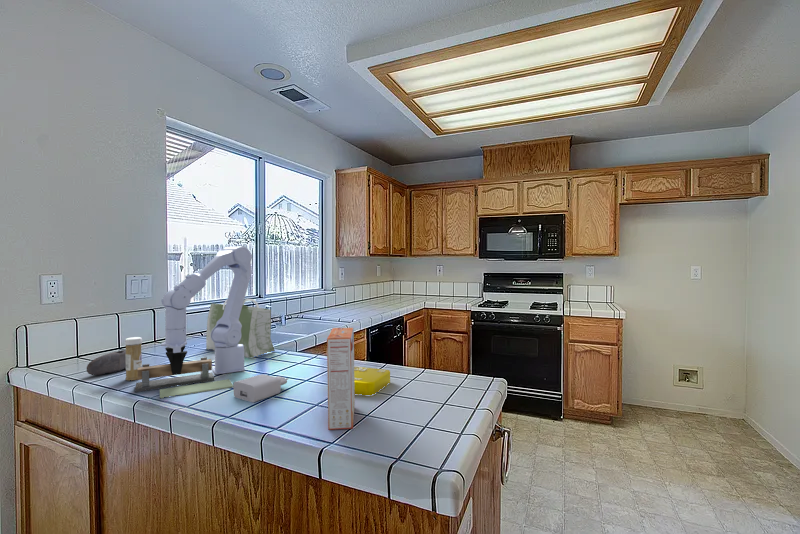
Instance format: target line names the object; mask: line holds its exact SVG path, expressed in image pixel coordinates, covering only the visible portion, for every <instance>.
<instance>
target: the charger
mask: <svg viewBox="0 0 800 534" xmlns="http://www.w3.org/2000/svg"><path fill="white" fill-rule="evenodd" d="M288 380H289V378H288V377H287V378H286V377H285V376H284V377H283V376H279V375H278V376H272V375H268V374H265V373H262V374H261V373H260V374H258V375H253V376H251V377H247V378H244V379H240V380H236V381H234V382H233V397H234V398H236V399H240V400H243V401H247V402H250V403H257V402H260V401H262V400H264V399H267V398H270V397H273V396H275V395H279V394H280V393H281V388H282V387H281V386H283V385H286V384H287V383H288Z"/></svg>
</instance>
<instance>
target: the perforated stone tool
mask: <svg viewBox="0 0 800 534" xmlns="http://www.w3.org/2000/svg"><path fill="white" fill-rule="evenodd" d="M122 370H126V349H123V350H118V351H114V352H109V353H107V354H103V355H101V356H99V357H96V358H94V359H92V360H91V361H89V362H88V364H87V366H86V373H87V374H89V375H91V376H101V375H106V374H105V373H109V374H112V373H113V374H114V373H117V371H118V372H120V371H122Z"/></svg>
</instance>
